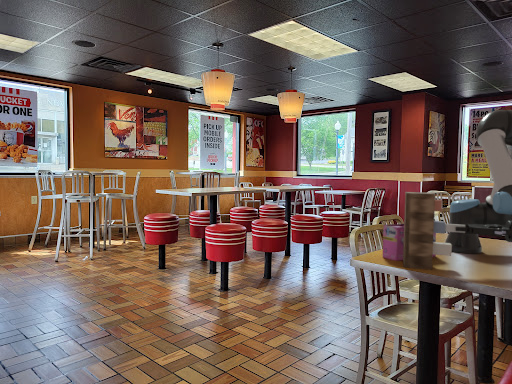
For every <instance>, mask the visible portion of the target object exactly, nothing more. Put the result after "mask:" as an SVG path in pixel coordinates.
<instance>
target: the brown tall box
mask: <svg viewBox="0 0 512 384" xmlns="http://www.w3.org/2000/svg"><path fill="white" fill-rule="evenodd" d="M404 195H405V199H404V217H403V219H404V220H403V221H404V222H403V224H404V243H403V260H402V264H403V268H411V269H418V270H419V269H421V270H431V271H432V270H433V258H434V257H433V233H434V221H435V211H434V209H435V200H436V193H434V192H420V191H419V192H418V191H417V192H416V191H414V192H413V191H405V193H404Z"/></svg>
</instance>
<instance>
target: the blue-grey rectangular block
mask: <svg viewBox="0 0 512 384" xmlns="http://www.w3.org/2000/svg"><path fill="white" fill-rule="evenodd" d="M445 224H446V222H445V221H442V220H434V233H436V234H445V233H446V232H445Z"/></svg>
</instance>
